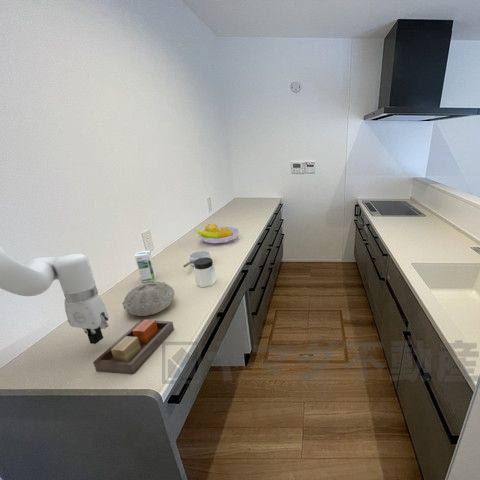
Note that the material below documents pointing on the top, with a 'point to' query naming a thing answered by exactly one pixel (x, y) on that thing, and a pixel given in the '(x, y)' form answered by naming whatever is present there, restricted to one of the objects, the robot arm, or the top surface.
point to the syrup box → (145, 266)
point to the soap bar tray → (134, 347)
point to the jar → (204, 272)
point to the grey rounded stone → (148, 298)
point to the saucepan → (197, 256)
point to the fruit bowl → (217, 234)
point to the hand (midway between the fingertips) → (97, 340)
